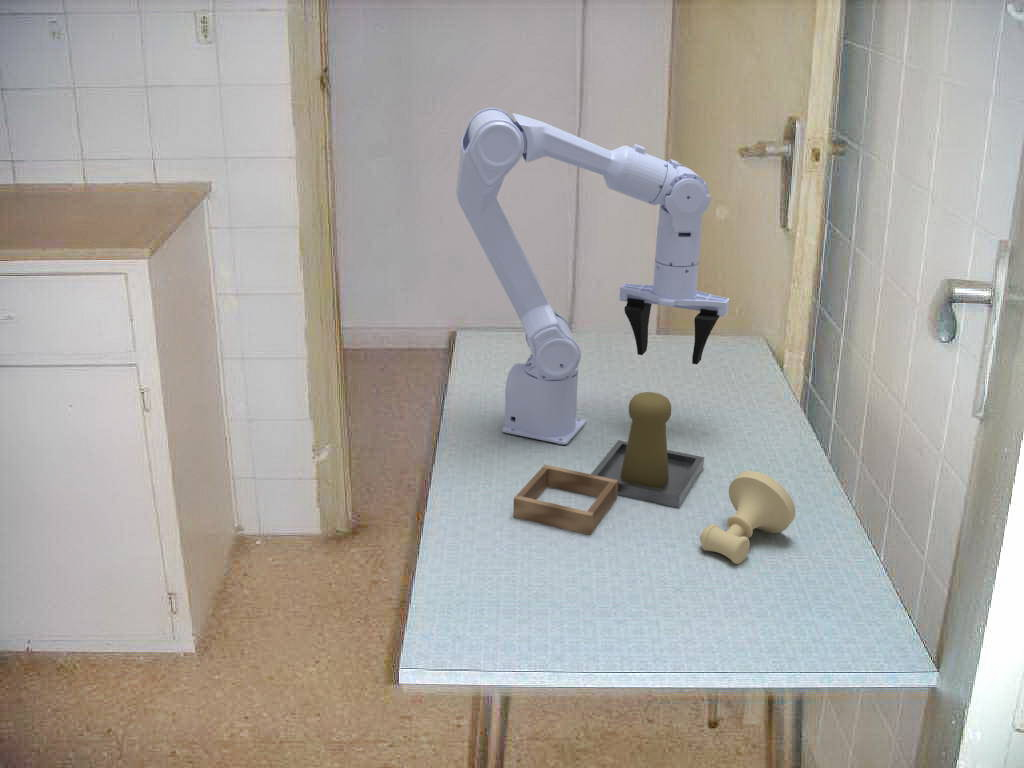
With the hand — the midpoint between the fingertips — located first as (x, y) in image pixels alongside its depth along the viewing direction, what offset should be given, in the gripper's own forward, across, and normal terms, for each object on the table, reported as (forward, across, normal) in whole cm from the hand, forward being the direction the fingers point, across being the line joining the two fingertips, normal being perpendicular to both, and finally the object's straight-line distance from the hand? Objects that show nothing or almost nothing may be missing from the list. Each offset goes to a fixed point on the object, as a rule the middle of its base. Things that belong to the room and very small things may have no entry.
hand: (669, 357), depth 148 cm
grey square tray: (+10, +2, -16) cm, 19 cm away
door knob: (+11, +17, -26) cm, 33 cm away
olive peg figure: (+10, +3, -17) cm, 20 cm away
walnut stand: (+10, -4, -28) cm, 30 cm away
